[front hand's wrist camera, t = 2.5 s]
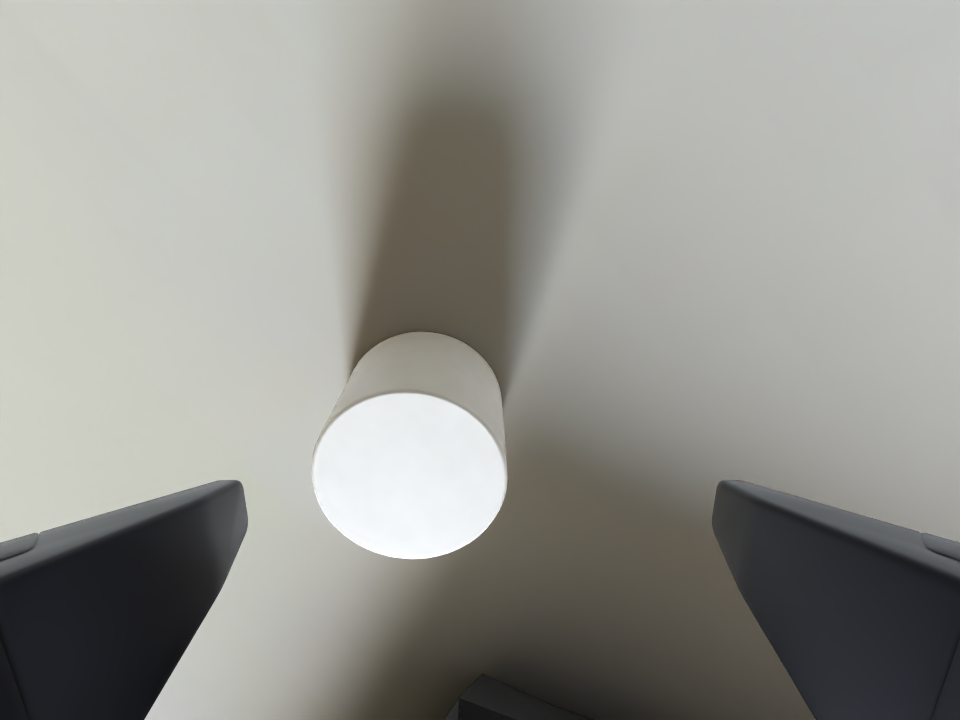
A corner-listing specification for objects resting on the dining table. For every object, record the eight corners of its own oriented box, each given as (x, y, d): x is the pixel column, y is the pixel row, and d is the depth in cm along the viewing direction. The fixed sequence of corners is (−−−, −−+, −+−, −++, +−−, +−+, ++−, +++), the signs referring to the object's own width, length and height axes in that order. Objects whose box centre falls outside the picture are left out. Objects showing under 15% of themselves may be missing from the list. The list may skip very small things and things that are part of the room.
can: (533, 403, 19) (548, 479, 15) (427, 497, 20) (414, 591, 16) (420, 297, 18) (402, 349, 14) (314, 404, 19) (269, 480, 15)
